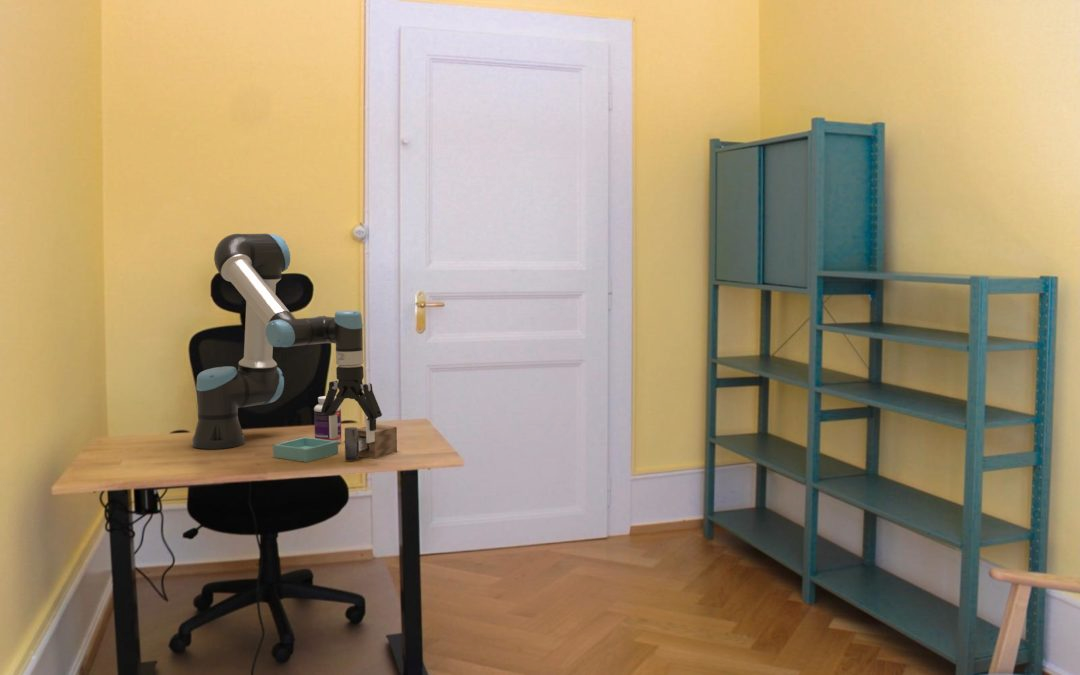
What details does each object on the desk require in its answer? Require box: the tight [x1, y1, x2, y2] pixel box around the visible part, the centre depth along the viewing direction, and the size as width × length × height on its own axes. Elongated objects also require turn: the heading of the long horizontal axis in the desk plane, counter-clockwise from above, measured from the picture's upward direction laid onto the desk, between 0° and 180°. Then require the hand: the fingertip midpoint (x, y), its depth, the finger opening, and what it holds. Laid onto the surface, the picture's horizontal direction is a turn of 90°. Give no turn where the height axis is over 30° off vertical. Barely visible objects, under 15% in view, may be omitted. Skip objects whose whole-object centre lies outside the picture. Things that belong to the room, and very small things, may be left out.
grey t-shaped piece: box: [344, 426, 369, 462], centre depth 278 cm, size 17×4×9 cm, turn 150°
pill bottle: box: [313, 395, 342, 444], centre depth 295 cm, size 8×8×14 cm
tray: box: [272, 436, 339, 463], centre depth 279 cm, size 13×13×4 cm
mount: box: [358, 423, 398, 459], centre depth 281 cm, size 10×8×8 cm
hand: (351, 440), depth 272 cm, fingers open, 13 cm apart
